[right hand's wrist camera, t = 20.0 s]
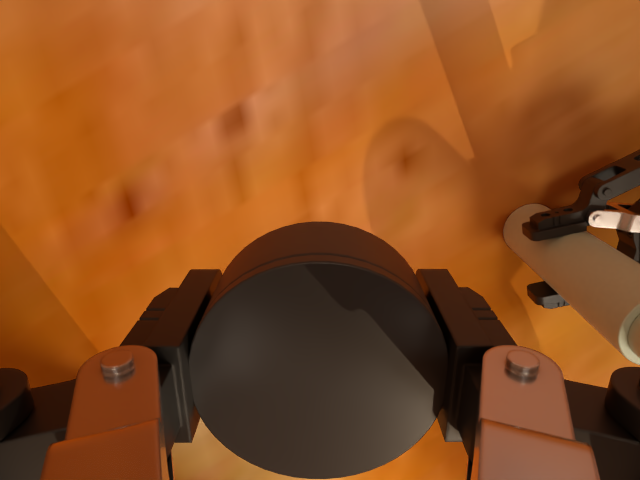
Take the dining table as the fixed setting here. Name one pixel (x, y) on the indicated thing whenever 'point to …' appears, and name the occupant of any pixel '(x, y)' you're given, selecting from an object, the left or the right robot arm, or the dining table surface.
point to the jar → (585, 278)
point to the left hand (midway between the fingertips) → (529, 265)
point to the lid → (318, 354)
